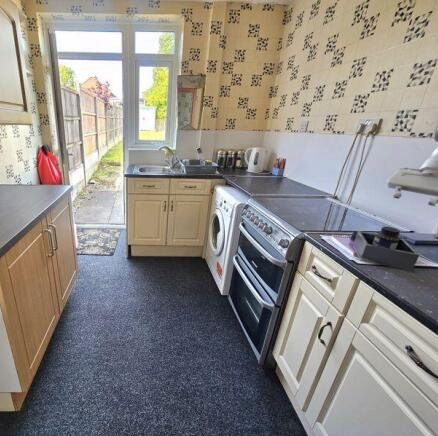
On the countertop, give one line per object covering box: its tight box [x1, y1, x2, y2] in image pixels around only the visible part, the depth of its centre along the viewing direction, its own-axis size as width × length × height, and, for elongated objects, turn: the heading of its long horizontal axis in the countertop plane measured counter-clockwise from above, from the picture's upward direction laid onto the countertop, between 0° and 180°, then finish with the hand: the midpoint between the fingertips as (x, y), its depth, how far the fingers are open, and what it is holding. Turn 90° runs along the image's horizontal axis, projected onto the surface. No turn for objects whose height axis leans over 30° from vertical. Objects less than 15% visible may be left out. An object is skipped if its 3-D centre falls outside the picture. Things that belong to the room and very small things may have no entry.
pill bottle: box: [372, 226, 401, 249], centre depth 88 cm, size 6×6×11 cm
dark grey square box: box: [352, 230, 420, 272], centre depth 89 cm, size 14×14×7 cm
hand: (412, 200), depth 88 cm, fingers open, 8 cm apart
